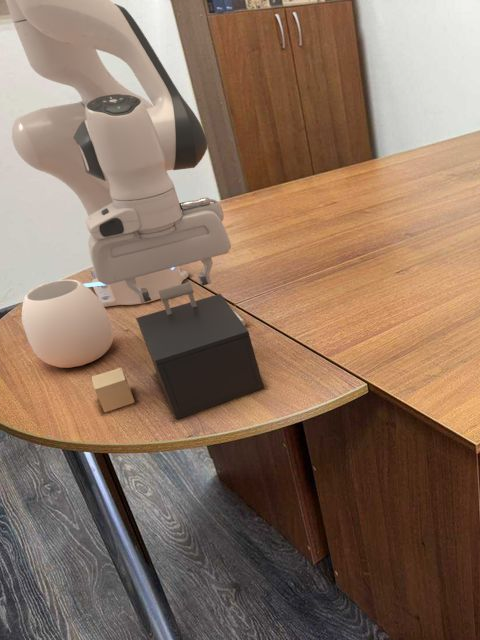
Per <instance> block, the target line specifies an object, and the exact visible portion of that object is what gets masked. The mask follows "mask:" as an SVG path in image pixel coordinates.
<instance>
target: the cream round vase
mask: <svg viewBox="0 0 480 640" xmlns="http://www.w3.org/2000/svg"><path fill="white" fill-rule="evenodd" d="M84 284H85V283H83V282H81V281H79V280H76V279H58V280H53V281H49V282H45V283H42V284H40V285H38V286H36V287H34V288H32V289H30V290H29V291H28V292H27V293H26V294H25V295H24V297H23V301H22V307H21V324H22V328H23V330H24V333H25V336H26V338H27V341H28V343H29V345H30V347H31V349H32V351H33V353H34V355H35V356H36V357H38V358H39V360H41V361H42V362H43V363H45V364H47V365H50V366H52V367H56V368H61V369H63V368H65V369H70V368H75V367H81V366H84V365H87V364H89V363H92V362H95V361H96V360H98V359H101V358H102V356H104V355H105V354H106V353H107V352H108V351H109V349H110V348H111V346H112V344H113V341H114V333H115V329H114V326H113V322H112V321H111V317H110V315H109V313H108V311H107V310H106V307H104V306H103V304H102V302H101V301H100V299H99V298H98V297H97V295H96V293H95V292H94V291H92V289H90V287H86V286H85V285H84Z"/></svg>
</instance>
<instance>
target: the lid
mask: <svg viewBox="0 0 480 640" xmlns="http://www.w3.org/2000/svg"><path fill="white" fill-rule="evenodd" d="M194 292H195V291H194V288H193V285H192V283H191V282H190V281H188V282H185V283H182V284H181V285H177V286H174V287H170V288H167V289H163V290H159V291H158V293H159V295H160V301H161V302H162V303H163V306H164V309H163V310H159V311H155V312H152V313H148V314H145V315H142V316H138V317H136V318H135V320H136V322H137V324H138V327H139V330H140V329H141V330H140V332H141V331H142V333H141V335H142V334H143V335H142V337H143V336H144V338H145V341H146V343H147V345H148V347H149V350H150V352H151V354H152V357H153V359H154V361H155V363H156V365H158V364H161V363H165V362H168V361H171V360H174V359H177V358H180V357H183V356H186V355H189V354H193V353H196V352H199V351H202V350H205V349H208V348H211V347H214V346H217V345H221V344H224V343H227V342H230V341H233V340H236V339H239V338H242V337H245V336H250V331H249V329H248V328H247V327H246V325H245V326H244V325H243V323H242V322H241V321H240V319H239V318H238V317H237V315H236V314H235V313H234V311H235V310H234V309H233V308H232V307H231V306H230V304H229V303H228V301H227V300H226V299H225V298H224V296H223V295H222V294H221V293H218V294H215V295H211V296H208V297H204V298H200V299H198V300H196V298H195V296H194ZM183 296H188V299H189V302H187V303H184V304H183V303H182V304H180V305H177V306H173V307H170V306H171V305H170V303H169V300H172V299H176V298H181V297H183ZM231 308H232V309H233V310H234V311H233V310H232V309H231ZM144 338H143V339H144ZM145 341H144V342H145ZM146 343H145V344H146Z"/></svg>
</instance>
